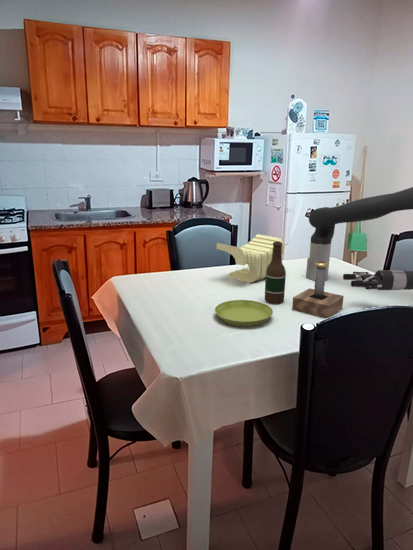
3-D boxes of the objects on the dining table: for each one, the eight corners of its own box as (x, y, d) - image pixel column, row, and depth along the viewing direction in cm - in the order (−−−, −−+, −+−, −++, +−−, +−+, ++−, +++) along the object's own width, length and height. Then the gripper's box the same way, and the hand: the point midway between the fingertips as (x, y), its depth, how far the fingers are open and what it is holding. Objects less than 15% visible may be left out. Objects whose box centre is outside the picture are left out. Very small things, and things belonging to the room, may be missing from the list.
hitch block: (292, 309, 157) (293, 297, 155) (308, 300, 167) (309, 288, 166) (327, 319, 148) (328, 305, 147) (342, 308, 159) (343, 295, 157)
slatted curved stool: (242, 288, 181) (244, 248, 175) (216, 280, 191) (216, 242, 186) (282, 274, 201) (284, 238, 196) (255, 268, 212) (257, 234, 207)
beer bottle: (285, 299, 168) (289, 240, 161) (282, 305, 161) (286, 245, 154) (266, 296, 170) (269, 239, 163) (262, 303, 163) (265, 243, 156)
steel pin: (309, 309, 157) (313, 263, 152) (314, 305, 161) (318, 260, 156) (320, 312, 155) (325, 265, 150) (325, 308, 158) (330, 263, 153)
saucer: (230, 304, 163) (231, 296, 162) (280, 314, 153) (281, 306, 152) (204, 321, 145) (204, 313, 145) (258, 334, 136) (258, 325, 135)
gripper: (383, 265, 161) (341, 265, 160) (400, 276, 147) (355, 275, 147) (380, 284, 163) (339, 283, 163) (397, 296, 149) (352, 296, 149)
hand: (347, 280), depth 155 cm, fingers open, 8 cm apart
